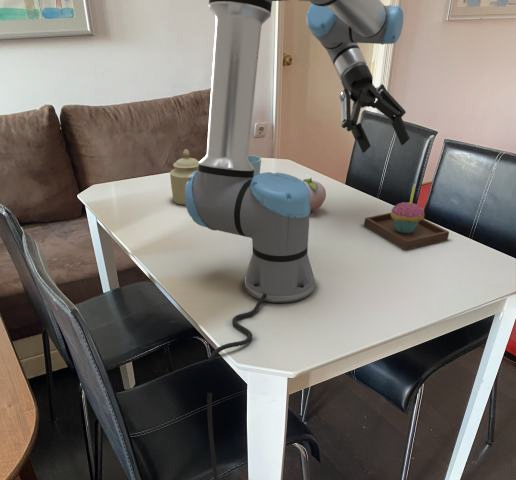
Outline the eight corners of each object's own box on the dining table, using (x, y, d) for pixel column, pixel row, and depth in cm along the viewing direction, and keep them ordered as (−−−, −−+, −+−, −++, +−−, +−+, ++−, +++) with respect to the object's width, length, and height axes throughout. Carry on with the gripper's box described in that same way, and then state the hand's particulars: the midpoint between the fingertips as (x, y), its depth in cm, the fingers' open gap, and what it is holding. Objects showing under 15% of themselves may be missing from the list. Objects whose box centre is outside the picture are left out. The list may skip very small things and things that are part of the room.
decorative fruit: (330, 214, 145) (333, 180, 139) (305, 219, 142) (307, 184, 136) (314, 204, 152) (315, 170, 146) (290, 208, 149) (291, 174, 143)
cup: (237, 188, 164) (236, 155, 158) (260, 187, 164) (260, 155, 158) (237, 196, 158) (236, 162, 152) (262, 195, 158) (261, 161, 152)
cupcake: (394, 221, 138) (401, 177, 131) (425, 227, 135) (434, 182, 128) (384, 232, 132) (390, 186, 125) (416, 238, 129) (424, 192, 122)
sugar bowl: (210, 188, 164) (207, 140, 155) (225, 199, 156) (223, 148, 147) (167, 196, 158) (161, 147, 149) (180, 207, 150) (175, 156, 141)
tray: (447, 240, 130) (449, 231, 128) (405, 250, 125) (406, 241, 124) (403, 217, 143) (404, 209, 141) (364, 225, 138) (364, 217, 137)
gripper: (380, 79, 140) (411, 147, 138) (308, 87, 129) (341, 161, 128) (397, 59, 133) (430, 130, 131) (323, 66, 122) (357, 143, 121)
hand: (386, 145), depth 129 cm, fingers open, 13 cm apart
